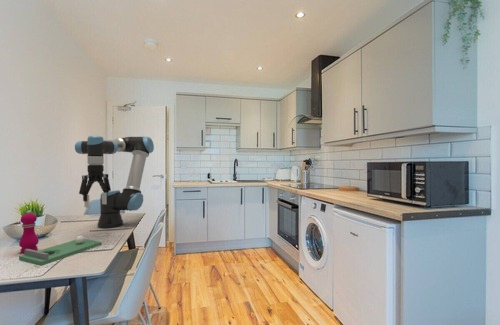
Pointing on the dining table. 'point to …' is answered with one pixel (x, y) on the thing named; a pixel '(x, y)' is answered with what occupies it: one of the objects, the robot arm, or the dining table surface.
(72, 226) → the dining table surface
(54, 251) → the putting mat
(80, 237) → the ball
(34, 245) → the pepper mill
